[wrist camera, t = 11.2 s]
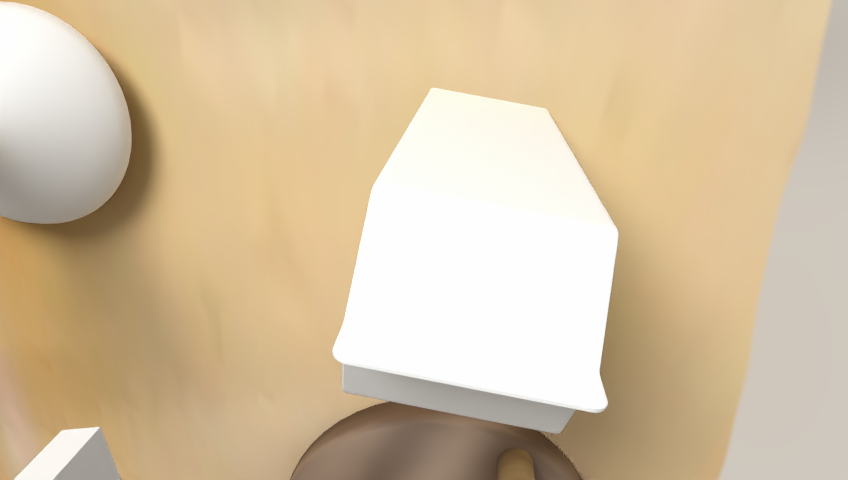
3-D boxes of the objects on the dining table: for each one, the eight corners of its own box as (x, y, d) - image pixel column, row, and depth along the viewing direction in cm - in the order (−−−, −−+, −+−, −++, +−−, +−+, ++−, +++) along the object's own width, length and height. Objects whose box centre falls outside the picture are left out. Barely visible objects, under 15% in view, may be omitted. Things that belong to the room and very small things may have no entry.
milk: (431, 86, 33) (342, 216, 13) (549, 108, 33) (656, 277, 12) (411, 199, 35) (308, 472, 15) (522, 221, 35) (576, 526, 14)
